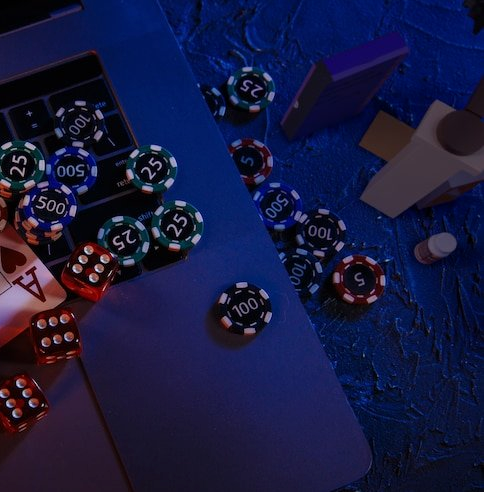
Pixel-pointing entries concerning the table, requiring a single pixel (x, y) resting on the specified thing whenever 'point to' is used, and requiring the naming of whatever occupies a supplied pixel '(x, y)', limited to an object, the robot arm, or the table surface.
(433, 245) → the pill bottle
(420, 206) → the small box
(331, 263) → the table surface
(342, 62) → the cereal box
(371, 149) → the mat
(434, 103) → the stand
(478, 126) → the paddle
